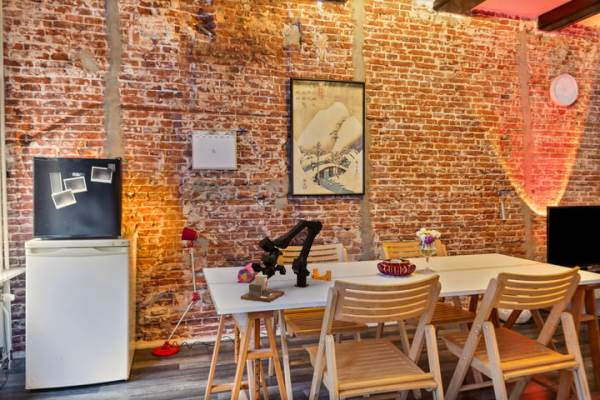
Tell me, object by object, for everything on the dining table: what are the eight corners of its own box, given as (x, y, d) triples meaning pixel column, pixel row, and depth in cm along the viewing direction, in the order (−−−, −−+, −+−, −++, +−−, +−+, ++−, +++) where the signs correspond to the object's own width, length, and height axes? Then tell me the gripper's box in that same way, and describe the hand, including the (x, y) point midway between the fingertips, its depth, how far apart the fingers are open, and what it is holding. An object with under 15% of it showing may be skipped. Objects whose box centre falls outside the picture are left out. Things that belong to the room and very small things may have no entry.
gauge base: (257, 291, 234) (257, 277, 234) (284, 294, 228) (284, 280, 228) (240, 298, 217) (240, 284, 217) (269, 302, 211) (269, 287, 211)
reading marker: (263, 294, 218) (263, 285, 218) (268, 295, 217) (268, 286, 217) (262, 295, 217) (262, 286, 217) (267, 295, 216) (267, 287, 216)
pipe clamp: (311, 279, 267) (311, 268, 267) (315, 278, 270) (315, 267, 270) (327, 282, 260) (327, 271, 259) (331, 281, 263) (331, 270, 263)
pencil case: (252, 284, 251) (252, 268, 251) (236, 283, 252) (236, 267, 252) (260, 276, 273) (260, 262, 273) (245, 275, 274) (245, 261, 274)
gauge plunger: (258, 291, 226) (259, 274, 225) (273, 293, 223) (273, 275, 222) (254, 293, 222) (255, 275, 221) (269, 295, 218) (270, 277, 218)
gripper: (252, 247, 233) (242, 271, 223) (284, 249, 226) (275, 274, 216) (259, 259, 240) (249, 283, 230) (290, 262, 233) (281, 287, 224)
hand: (263, 281), depth 225 cm, fingers closed, pressing on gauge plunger
